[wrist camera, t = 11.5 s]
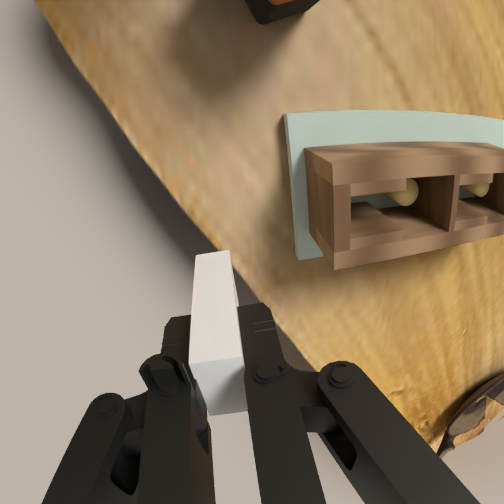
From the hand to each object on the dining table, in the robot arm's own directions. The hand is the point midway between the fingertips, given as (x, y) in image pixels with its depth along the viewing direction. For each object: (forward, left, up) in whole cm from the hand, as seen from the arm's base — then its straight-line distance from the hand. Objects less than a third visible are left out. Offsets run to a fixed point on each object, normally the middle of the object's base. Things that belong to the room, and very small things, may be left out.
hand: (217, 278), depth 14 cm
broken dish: (+50, +46, -12) cm, 69 cm away
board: (0, +20, -11) cm, 23 cm away
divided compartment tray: (0, +17, -10) cm, 20 cm away
